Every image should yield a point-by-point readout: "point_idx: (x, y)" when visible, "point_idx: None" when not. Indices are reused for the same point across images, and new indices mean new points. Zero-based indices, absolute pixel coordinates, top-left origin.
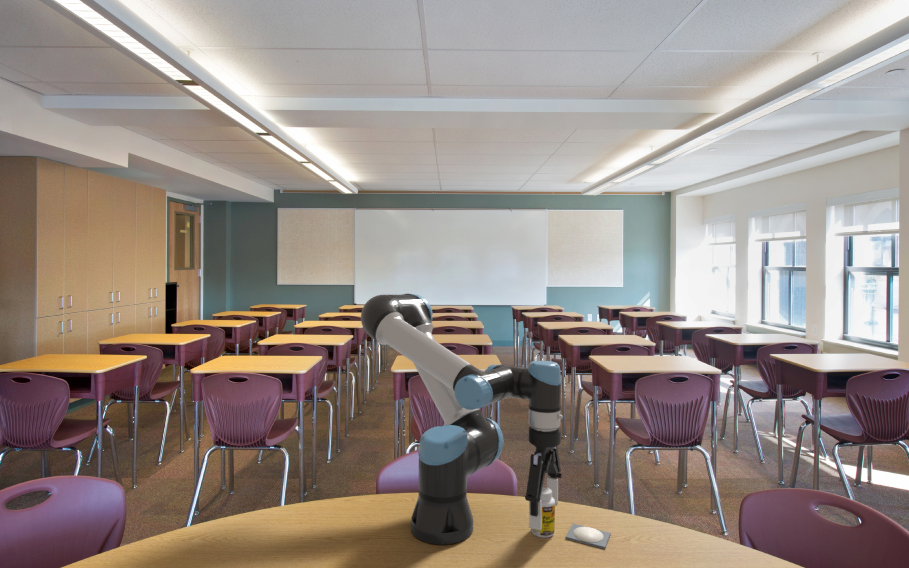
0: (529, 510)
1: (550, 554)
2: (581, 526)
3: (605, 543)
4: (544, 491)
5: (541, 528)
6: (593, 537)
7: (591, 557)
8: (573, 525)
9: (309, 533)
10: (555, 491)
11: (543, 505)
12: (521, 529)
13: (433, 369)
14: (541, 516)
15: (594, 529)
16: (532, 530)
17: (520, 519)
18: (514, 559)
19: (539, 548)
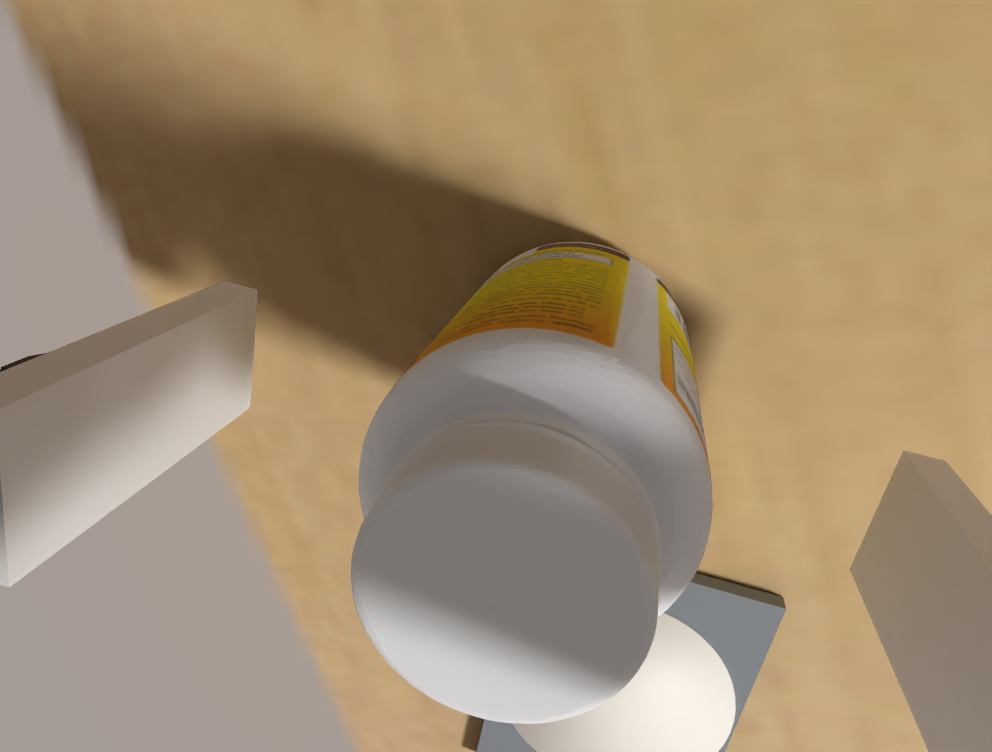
0: (92, 340)
1: (272, 415)
2: (743, 666)
3: None
4: (456, 617)
5: (240, 410)
6: (573, 723)
7: (348, 663)
8: (745, 610)
9: None
10: (918, 679)
11: (361, 507)
12: (582, 135)
13: None
14: (163, 466)
15: (704, 749)
16: (504, 265)
17: (812, 87)
18: (88, 150)
19: (317, 332)
